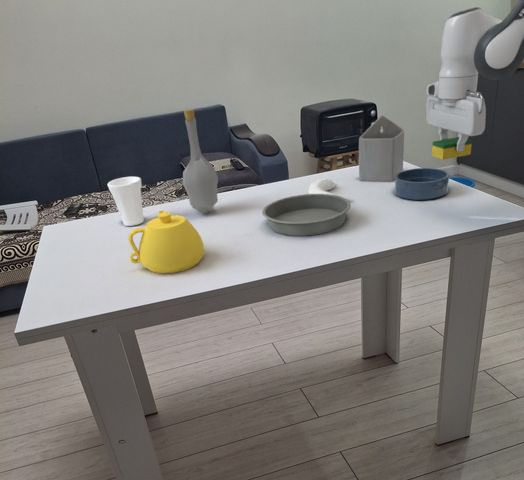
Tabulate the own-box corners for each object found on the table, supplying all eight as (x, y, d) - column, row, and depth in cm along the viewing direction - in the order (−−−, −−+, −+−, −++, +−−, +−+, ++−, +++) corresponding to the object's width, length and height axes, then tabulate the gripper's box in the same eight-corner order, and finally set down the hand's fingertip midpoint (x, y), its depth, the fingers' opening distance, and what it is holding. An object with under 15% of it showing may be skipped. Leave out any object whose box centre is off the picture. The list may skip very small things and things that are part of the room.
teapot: (211, 267, 132) (203, 217, 125) (134, 283, 129) (121, 232, 122) (198, 240, 148) (190, 195, 141) (130, 253, 145) (118, 207, 138)
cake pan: (345, 204, 161) (345, 189, 159) (356, 233, 141) (356, 217, 138) (264, 212, 163) (262, 197, 160) (263, 242, 142) (261, 226, 140)
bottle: (229, 212, 166) (214, 108, 150) (196, 222, 162) (177, 115, 146) (214, 204, 174) (199, 105, 158) (182, 213, 170) (163, 111, 154)
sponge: (459, 150, 140) (460, 136, 138) (470, 154, 136) (472, 140, 134) (431, 155, 138) (432, 141, 136) (442, 159, 134) (443, 145, 132)
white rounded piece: (319, 187, 179) (362, 187, 173) (301, 208, 165) (347, 210, 159) (318, 172, 176) (362, 172, 171) (300, 193, 162) (347, 194, 157)
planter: (369, 186, 174) (370, 122, 163) (358, 180, 180) (358, 119, 170) (414, 177, 177) (417, 114, 167) (401, 172, 184) (404, 111, 173)
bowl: (450, 186, 165) (452, 168, 162) (442, 202, 154) (444, 183, 151) (401, 185, 171) (401, 167, 169) (389, 200, 160) (390, 182, 157)
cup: (141, 215, 173) (132, 174, 166) (155, 222, 165) (146, 179, 158) (113, 224, 168) (102, 182, 161) (125, 231, 161) (114, 188, 154)
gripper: (496, 91, 121) (488, 154, 128) (445, 83, 138) (440, 139, 145) (471, 95, 120) (465, 158, 127) (423, 86, 136) (419, 143, 144)
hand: (451, 148), depth 136 cm, fingers closed on sponge, 5 cm apart
